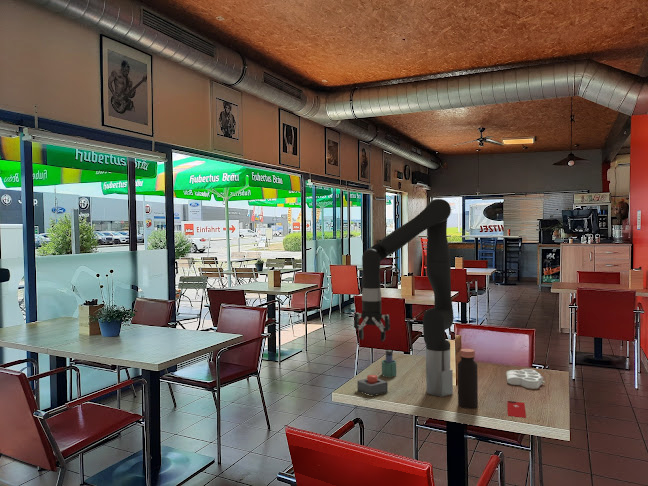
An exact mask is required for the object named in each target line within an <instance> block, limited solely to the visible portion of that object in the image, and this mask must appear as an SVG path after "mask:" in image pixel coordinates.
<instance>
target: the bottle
mask: <svg viewBox="0 0 648 486" xmlns="http://www.w3.org/2000/svg"><path fill="white" fill-rule="evenodd" d="M459 351H460V352H459V353H460V355H459V356H460V361H459V362H457V404H458V406H459V407H461V408H464V409H467V410H469V409H471V410H473V409H476V408H477V407H478V405H479V402H478V400H479V397H478V395H479V392H478V386H479V385H478V383H479V382H478V381H479V379H478V363H477V362H476V361H475V360H474V359H475V355H476V354H475V353H476V352H475V349H472V348H461V349H460V350H459Z"/></svg>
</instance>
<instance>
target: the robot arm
mask: <svg viewBox="0 0 648 486" xmlns="http://www.w3.org/2000/svg"><path fill="white" fill-rule="evenodd" d="M451 212H452V208H451V205H450V203H449V202H448V201H447V200H446V199H443V198H434V199H432V200H431V201H429V202H428V203H427V204H426V206H425V208H424V209H422V211H420V213H418V214H417V215H416V216H414V218H412V219H410V220H409V221H408V222H406V223H404V224H402V225H401V226H399V227H398V228H396V229H394V230H393V231H391V233H388V234H387V235H386V236H385V237H383V238H381V240H380V241H378V242H377V243H376V244H374V245H371V246H370V247H369V248H367V249H366V250H365V251H363V254H362V258H361V260H362V261H361V264H362V266H361V267H362V291H361V292H362V293H361V302H362V303H361V304H362V305H361V308H362V309H361V312H362V313H361V312H360V313H359V312H356V313H354V318H353V319H354V320H353V328H354V329H357V330H358V338H359V340H361V341H362V340H364V338H365V337H364V336H365V335H364V334H365V333H364V328H365V326H366V325H367V326H376V327H377V328H378V329H379V330H380V342H384V341H385V340H386V332H388V331H389V330H390V329H391V323H390V322H391V321H390V314H382V291H381V290H382V289H381V274H380V273H381V262H382V261H383V260H384V259H385V258H387V257H388V256H390V255H392V254H394V253H396V252H397V251H398V250H400V249H402V248H403V247H405V246H406V245H407V244H408V243H410V242H411V241H412V240H413V239H414V238H416V237H417V236H419V235H420V234H421V233H423V232H424V231H426V230H427V240H426V241H427V243H426V256H425V257H426V261H425V262H426V264H425V265H426V276H427V278H428V281H429V283H430V286H431V288H432V289H431V290H432V291H433V298H434V302H433V303H434V304H433V305H434V306H433V307H432V308H428V309H426V310H425V312H424V314H423V317H422V330H423V331H422V333H423V341H424V343H425V366H426V367H425V370H426V371H425V372H426V375H425V376H426V377H425V378H426V379H425V382H426V383H425V384H426V389H425V390H426V393H427V394H428V395H432V396H437V397H442V398H443V397H447V396H450V395H453V393H454V391H453V390H454V386H453V383H454V382H453V381H454V380H453V377H454V376H453V374H454V373H453V369H452V368H451V342H450V341H449V340H448V339H446V337H445V335H446V333H445V331H446V330H448V329H450V328H451V327H452V326H453V323H454V319H455V318H454V308H453V302H452V285H451V283H452V280H451V276H452V275H451V273H452V270H451V269H452V268H451V267H452V266H451V264H452V260H451V254H450V253H451V252H450V246H449V241H448V236H447V233H448V232H447V231H448V230H447V228H448V218H449V217H450V216H451ZM360 319H362V322H361V323H360ZM382 319H383V321H384V324H383V322H382Z"/></svg>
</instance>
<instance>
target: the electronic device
mask: <svg viewBox="0 0 648 486" xmlns="http://www.w3.org/2000/svg"><path fill="white" fill-rule="evenodd" d="M506 403H507V404H506V408H507V409H506V410H507V417H513V416H514V417H515V418H521V419H522V418H523V419H526V418H527V415H526V414H527V413H526V404H525V402H520V401H512V400H507V402H506Z"/></svg>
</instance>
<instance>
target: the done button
mask: <svg viewBox="0 0 648 486" xmlns="http://www.w3.org/2000/svg"><path fill="white" fill-rule="evenodd" d="M377 378H378V375H376V374H368V375H367V376H366V379H367V383H370V384H374V383H377Z"/></svg>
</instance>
